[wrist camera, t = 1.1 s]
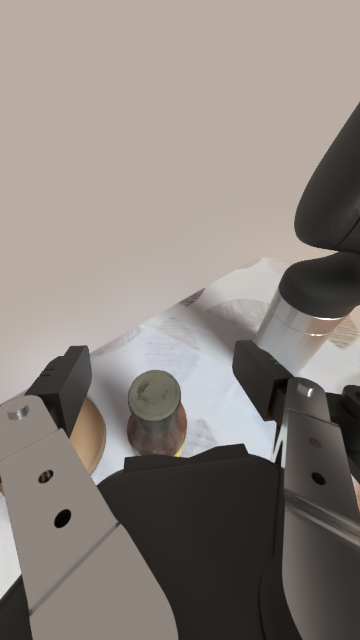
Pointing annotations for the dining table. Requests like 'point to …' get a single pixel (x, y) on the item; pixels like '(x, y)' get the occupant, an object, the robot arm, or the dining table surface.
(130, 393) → the sauce bottle
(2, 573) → the dining table surface
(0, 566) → the dining table surface
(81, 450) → the tan flat disc
